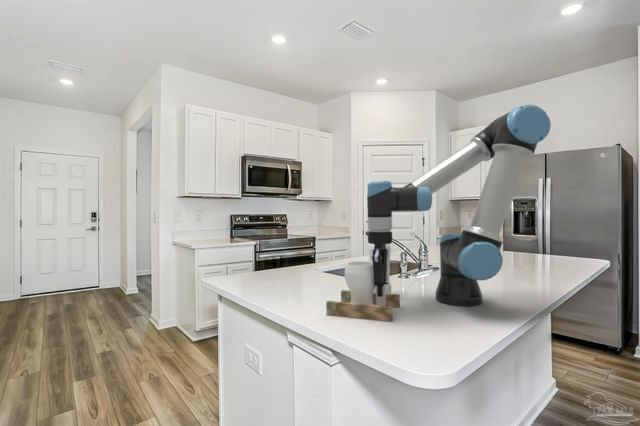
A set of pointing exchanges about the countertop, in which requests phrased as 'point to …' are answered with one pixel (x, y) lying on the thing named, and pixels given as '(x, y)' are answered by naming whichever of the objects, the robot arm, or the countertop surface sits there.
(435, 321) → the countertop surface
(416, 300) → the countertop surface
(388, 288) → the bottle
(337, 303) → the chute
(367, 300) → the cup
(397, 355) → the countertop surface
